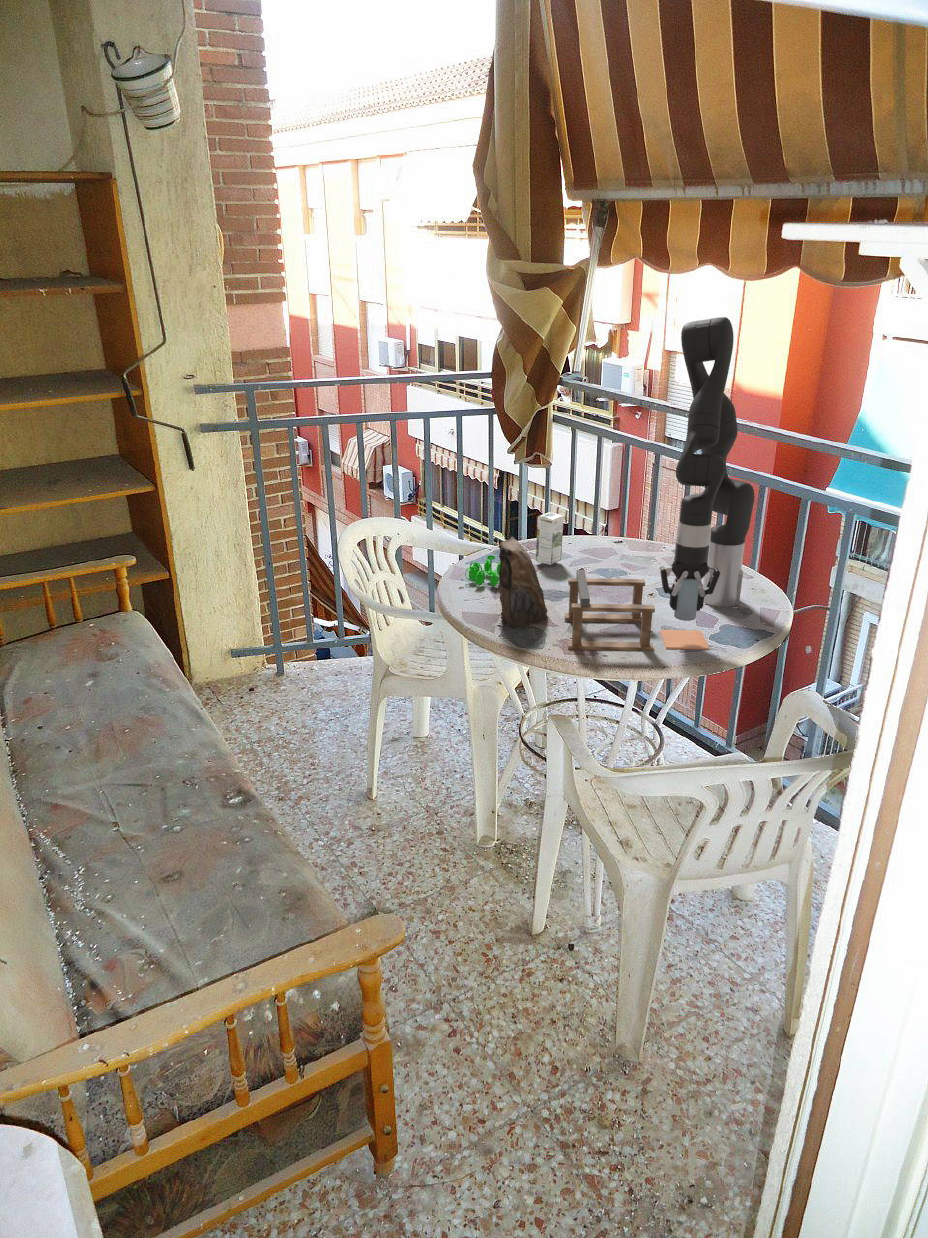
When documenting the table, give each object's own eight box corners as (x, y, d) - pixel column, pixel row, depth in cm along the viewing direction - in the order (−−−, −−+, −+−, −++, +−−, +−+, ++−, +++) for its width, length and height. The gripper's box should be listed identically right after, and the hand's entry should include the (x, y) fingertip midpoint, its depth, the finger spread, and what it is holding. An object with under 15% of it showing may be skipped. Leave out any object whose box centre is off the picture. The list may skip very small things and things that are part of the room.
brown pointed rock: (513, 631, 212) (514, 554, 204) (480, 615, 221) (480, 542, 213) (549, 618, 219) (552, 544, 211) (517, 603, 228) (518, 532, 220)
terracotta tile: (700, 633, 209) (701, 630, 209) (708, 651, 200) (709, 647, 200) (659, 632, 210) (659, 629, 210) (665, 650, 201) (666, 647, 201)
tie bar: (584, 577, 215) (584, 570, 214) (589, 606, 197) (589, 598, 196) (576, 577, 215) (576, 569, 214) (580, 606, 197) (581, 598, 196)
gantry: (642, 618, 219) (646, 578, 214) (653, 651, 200) (657, 609, 196) (564, 616, 220) (566, 577, 216) (568, 649, 202) (570, 607, 197)
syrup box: (546, 556, 263) (547, 511, 257) (562, 560, 260) (563, 514, 254) (535, 561, 259) (536, 515, 253) (551, 565, 256) (553, 519, 250)
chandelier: (511, 569, 254) (511, 547, 251) (521, 587, 240) (522, 564, 237) (461, 572, 252) (461, 549, 249) (469, 590, 238) (468, 566, 235)
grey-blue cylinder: (693, 612, 205) (698, 573, 201) (697, 621, 200) (702, 581, 196) (672, 612, 205) (676, 573, 201) (675, 620, 201) (680, 580, 197)
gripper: (721, 536, 198) (713, 604, 205) (659, 535, 199) (652, 602, 206) (728, 546, 191) (719, 616, 198) (663, 545, 192) (657, 614, 199)
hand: (685, 609), depth 202 cm, fingers closed on grey-blue cylinder, 5 cm apart
